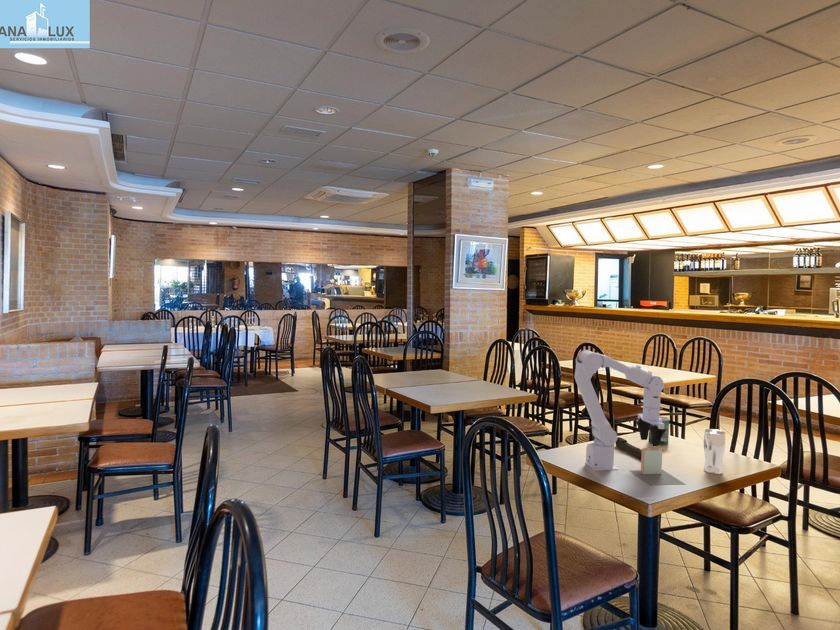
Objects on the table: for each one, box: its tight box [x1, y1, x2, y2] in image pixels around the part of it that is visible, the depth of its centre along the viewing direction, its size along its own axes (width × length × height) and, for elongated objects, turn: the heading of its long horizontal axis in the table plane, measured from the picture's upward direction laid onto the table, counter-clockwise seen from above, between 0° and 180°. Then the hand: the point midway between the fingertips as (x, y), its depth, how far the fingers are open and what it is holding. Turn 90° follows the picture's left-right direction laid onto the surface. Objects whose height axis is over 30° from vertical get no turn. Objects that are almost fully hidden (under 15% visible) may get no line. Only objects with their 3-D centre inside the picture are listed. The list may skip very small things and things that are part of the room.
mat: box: [629, 469, 687, 486], centre depth 182 cm, size 13×14×1 cm
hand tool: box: [615, 436, 642, 461], centre depth 210 cm, size 19×4×5 cm, turn 10°
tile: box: [640, 447, 663, 474], centre depth 185 cm, size 7×2×9 cm, turn 96°
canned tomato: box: [648, 415, 670, 447], centre depth 223 cm, size 8×8×11 cm
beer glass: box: [703, 428, 726, 475], centre depth 189 cm, size 7×7×15 cm
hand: (649, 442), depth 192 cm, fingers open, 7 cm apart
